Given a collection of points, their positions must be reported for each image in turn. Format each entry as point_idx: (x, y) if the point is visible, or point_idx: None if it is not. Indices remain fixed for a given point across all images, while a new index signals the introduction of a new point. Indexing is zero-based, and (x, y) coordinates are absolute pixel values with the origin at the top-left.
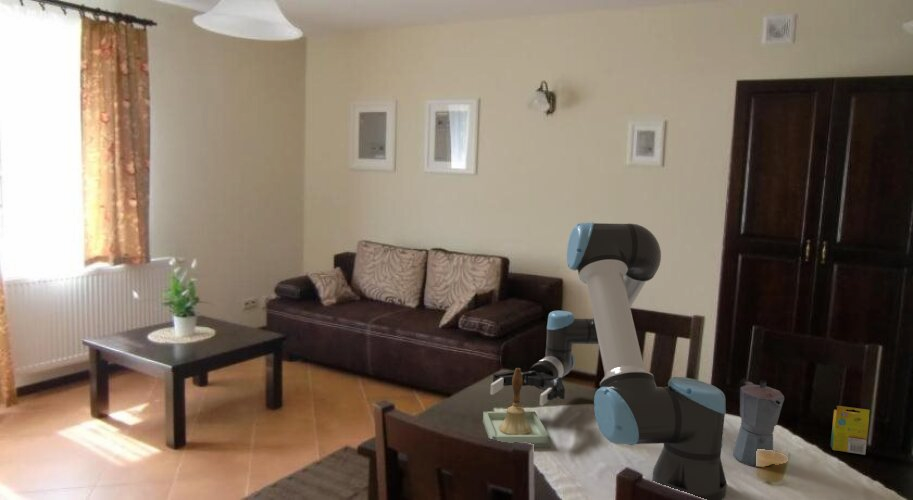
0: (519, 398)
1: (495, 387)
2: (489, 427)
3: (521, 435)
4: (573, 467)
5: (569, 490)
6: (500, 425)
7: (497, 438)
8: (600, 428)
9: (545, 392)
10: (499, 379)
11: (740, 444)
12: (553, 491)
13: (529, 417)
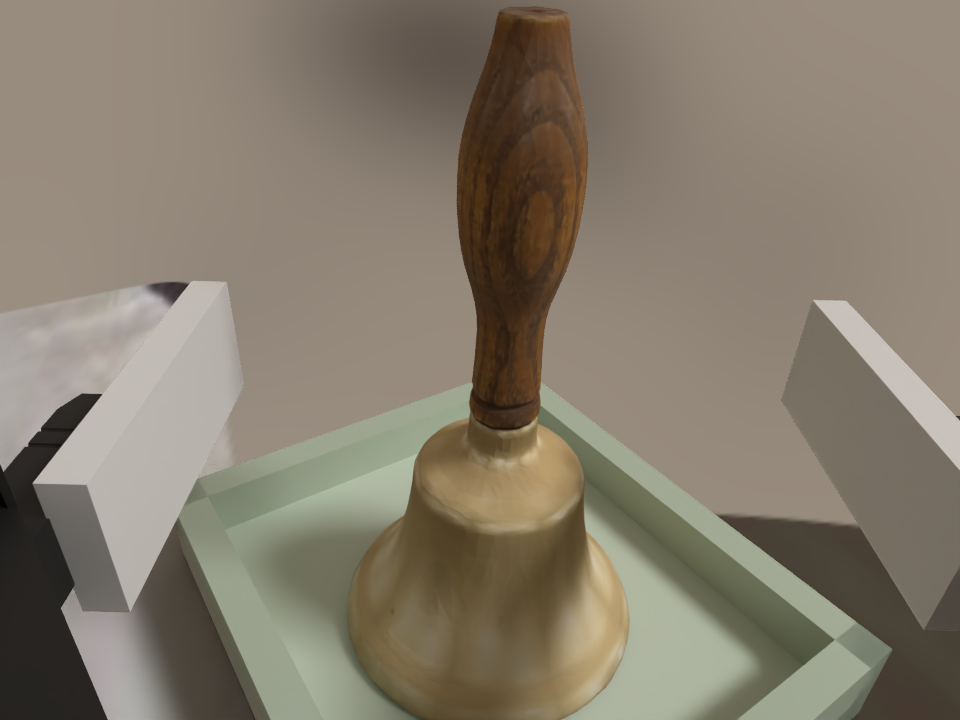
0: (473, 370)
1: (823, 378)
2: (610, 436)
3: (370, 431)
4: (35, 423)
5: (89, 302)
6: (598, 546)
7: None
8: None
9: (161, 335)
10: (955, 434)
11: None
12: (156, 285)
13: None
